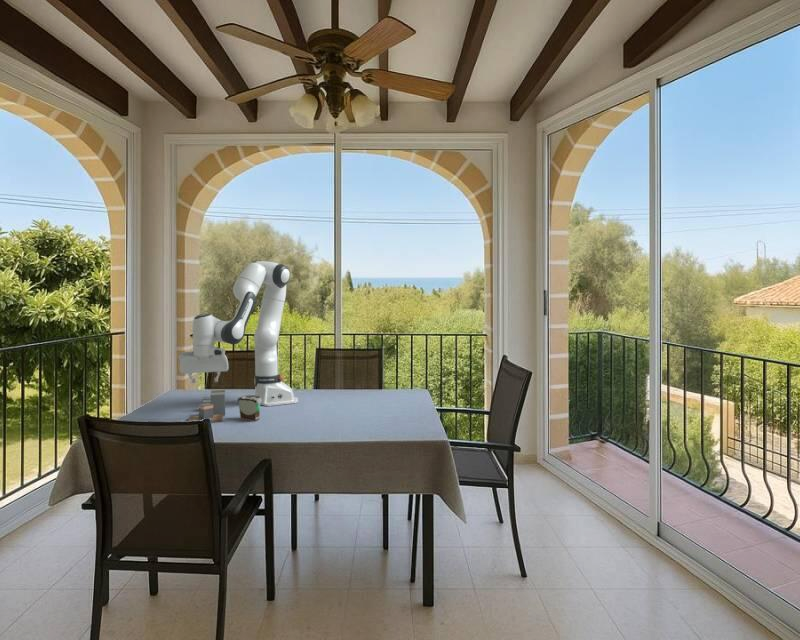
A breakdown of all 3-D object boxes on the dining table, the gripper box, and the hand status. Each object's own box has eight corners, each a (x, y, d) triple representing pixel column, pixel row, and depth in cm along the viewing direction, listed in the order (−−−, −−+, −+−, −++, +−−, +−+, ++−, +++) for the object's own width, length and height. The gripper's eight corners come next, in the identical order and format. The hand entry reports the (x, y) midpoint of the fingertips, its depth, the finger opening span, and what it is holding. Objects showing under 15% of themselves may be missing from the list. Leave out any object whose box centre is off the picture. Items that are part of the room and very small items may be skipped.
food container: (268, 418, 239) (267, 396, 238) (257, 421, 233) (257, 399, 233) (248, 415, 245) (247, 393, 244) (238, 418, 240) (237, 396, 239)
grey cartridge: (213, 409, 258) (212, 396, 258) (212, 411, 254) (212, 398, 253) (203, 409, 257) (202, 397, 256) (202, 411, 252) (202, 399, 252)
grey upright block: (225, 412, 250) (224, 389, 249) (225, 415, 244) (224, 392, 243) (211, 413, 248) (211, 390, 248) (211, 416, 242) (210, 392, 242)
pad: (222, 416, 242) (222, 414, 242) (222, 422, 233) (222, 419, 233) (189, 419, 238) (189, 416, 238) (187, 424, 229) (187, 421, 229)
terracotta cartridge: (213, 417, 236) (213, 404, 235) (204, 419, 232) (203, 405, 232) (208, 416, 239) (207, 402, 238) (198, 417, 235) (198, 404, 235)
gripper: (177, 352, 228) (178, 385, 228) (228, 351, 234) (228, 382, 234) (179, 351, 234) (180, 382, 234) (228, 349, 240) (228, 379, 240)
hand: (204, 382), depth 235 cm, fingers open, 8 cm apart
